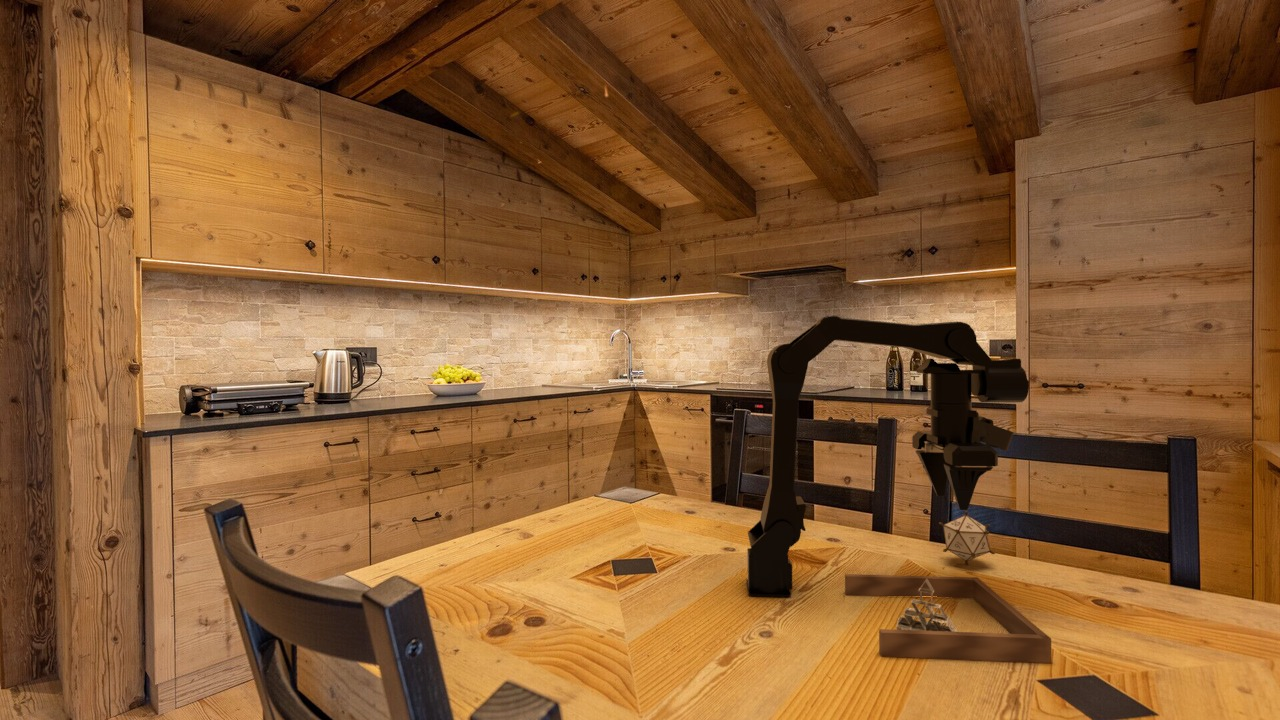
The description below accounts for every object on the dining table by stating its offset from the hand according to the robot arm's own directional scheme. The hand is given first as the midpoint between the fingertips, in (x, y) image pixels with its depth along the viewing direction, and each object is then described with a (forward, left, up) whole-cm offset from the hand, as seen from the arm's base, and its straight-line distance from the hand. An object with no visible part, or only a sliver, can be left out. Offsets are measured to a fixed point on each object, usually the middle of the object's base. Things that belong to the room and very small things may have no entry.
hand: (951, 502), depth 98 cm
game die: (+8, +14, -15) cm, 22 cm away
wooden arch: (-6, -11, -14) cm, 19 cm away
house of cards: (-7, -13, -15) cm, 21 cm away
